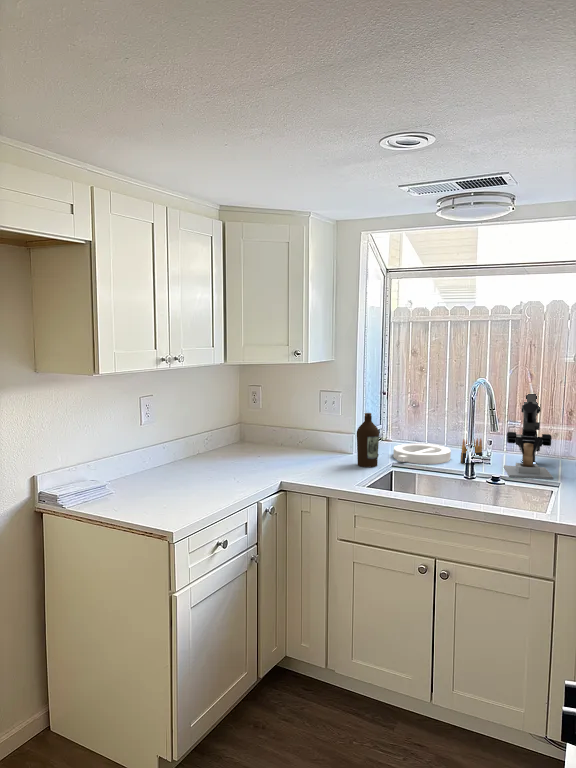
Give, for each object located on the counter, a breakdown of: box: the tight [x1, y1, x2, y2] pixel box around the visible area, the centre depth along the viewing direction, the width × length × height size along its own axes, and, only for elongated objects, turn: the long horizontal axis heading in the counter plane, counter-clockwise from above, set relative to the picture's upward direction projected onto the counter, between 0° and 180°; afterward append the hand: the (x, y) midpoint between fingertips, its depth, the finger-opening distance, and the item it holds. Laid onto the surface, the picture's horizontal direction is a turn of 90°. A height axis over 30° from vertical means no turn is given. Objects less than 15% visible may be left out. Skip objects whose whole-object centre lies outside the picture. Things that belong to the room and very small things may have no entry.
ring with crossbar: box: [392, 443, 452, 465], centre depth 300 cm, size 28×28×5 cm
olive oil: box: [356, 412, 380, 468], centre depth 282 cm, size 11×11×25 cm
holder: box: [503, 462, 554, 480], centre depth 268 cm, size 18×18×4 cm
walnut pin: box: [522, 443, 533, 467], centre depth 267 cm, size 4×4×11 cm
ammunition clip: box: [460, 437, 483, 464], centre depth 288 cm, size 11×2×12 cm, turn 101°
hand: (528, 454), depth 266 cm, fingers closed on walnut pin, 4 cm apart
